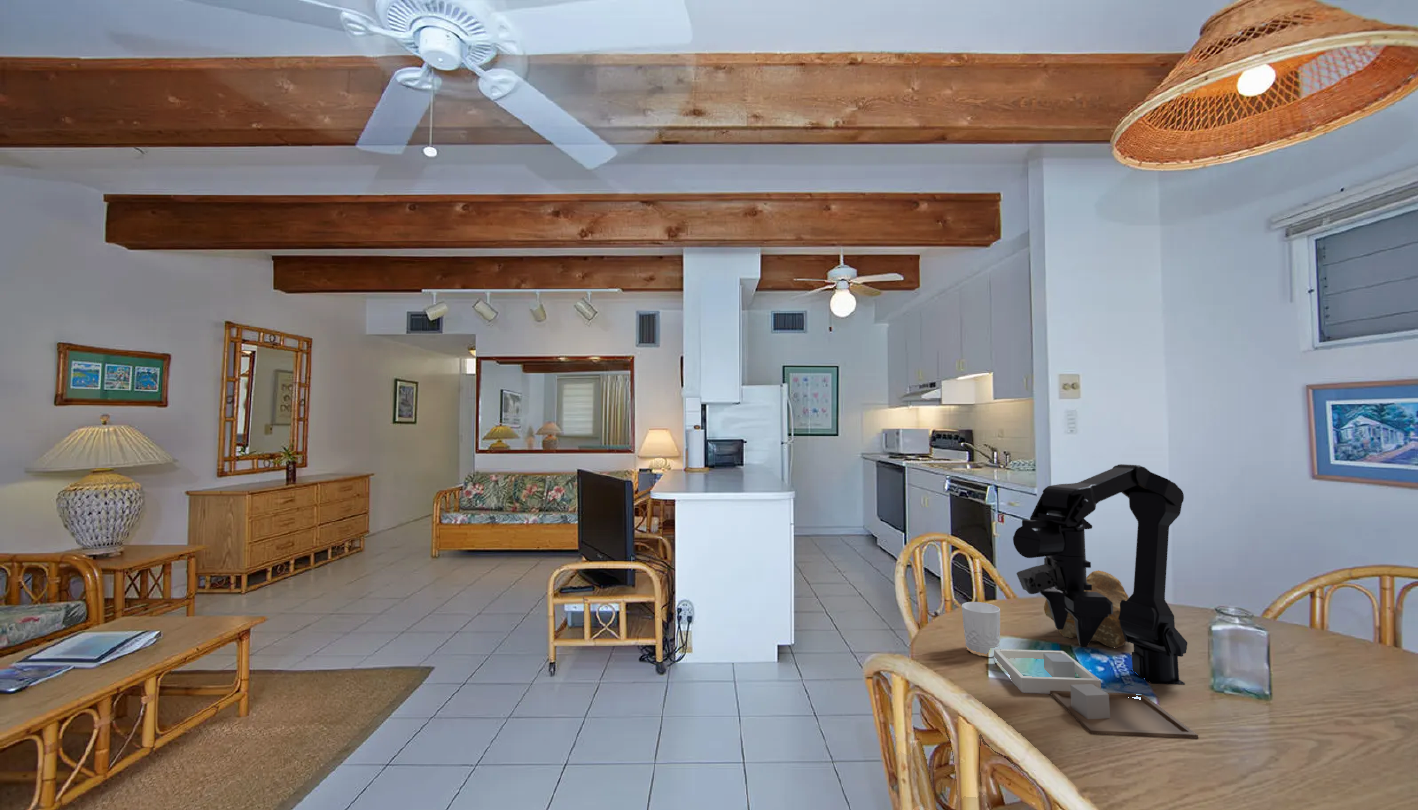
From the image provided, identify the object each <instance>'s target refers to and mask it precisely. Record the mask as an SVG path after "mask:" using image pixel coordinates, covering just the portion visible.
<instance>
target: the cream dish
mask: <svg viewBox="0 0 1418 810" xmlns="http://www.w3.org/2000/svg"><path fill="white" fill-rule="evenodd" d="M1043 653H1050V654H1065V655H1066V656H1068V657H1069V658H1070V659H1071V660H1073V661H1074V663H1075V672H1076V674H1078V676H1079V677H1081V678H1065V677H1032V676H1023V675H1022V674H1021V673H1020V672H1019V671H1018V670H1017V669H1016V668H1015V667H1014V666H1013V665H1012V664H1011V663H1010V662H1009V661H1008V659H1010V658H1014V659H1015V658H1034V659H1044V655H1043ZM994 657H995V658H996V659H997V661H998V662H999V663H1000V664H1001V665H1002V667H1003V668H1004V669H1005V670H1006V671H1007V672H1008V674H1009V675H1010V678H1011V680H1012V681H1011V680H1010V681H1011V682H1012V683H1013V685H1015V687H1016V686H1017V687H1018V688H1017V687H1016V688H1017V689H1018V690H1019V691H1020V692H1021V693H1022V694H1024V693H1025V694H1049V695H1051V694H1050V691H1071V688H1070V685H1080V684H1093V685H1094V686H1096V687H1098V688H1099V689H1101V690H1102V683H1101V682H1102V680H1101V679H1100V678H1098V677H1097V676H1096V675H1095V674H1094V673H1092V672H1090V671H1089V670H1088V669H1087V668H1085V667H1084V666H1083V665H1082V664H1081V663H1079V662H1078V661H1077V660H1075V658H1073V657H1071V656H1070V655H1069V653H1066V651H1064V650H1040V649H1039V650H1038V649H1006V648H1005V649H1004V648H1003V649H1000V648H999V649H994ZM994 657H993V658H994ZM1007 658H1008V659H1007Z"/></svg>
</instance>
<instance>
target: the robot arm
mask: <svg viewBox="0 0 1418 810" xmlns="http://www.w3.org/2000/svg"><path fill="white" fill-rule="evenodd" d="M1119 494H1123V495H1124V496H1125V497H1127V498H1128V504H1129V509H1130V511H1131V513H1132V514H1133V516H1134V518H1135V520H1136V521H1137V531H1136V532H1137V534H1136V535H1137V537H1136V547H1135V561H1134V562H1135V563H1134V565H1135V566H1134V578H1133V579H1134V581H1133V592H1132V594H1131V595H1130V596H1128V597H1129V598H1128V599H1127V600H1126V601H1125V600H1122V601H1121V602H1120V615H1119V618H1118V620H1119V621H1120V627H1121V629H1122V632H1123V635H1124V638H1125V643H1130V644H1133V651H1132V652H1131V663H1132V664H1131V667H1132V668H1131V669H1133V671H1134V672H1136V673H1137V674H1138V675H1139V676H1140V677H1139V676H1138V675H1137V676H1138V677H1139V678H1141V677H1142V678H1145V680H1146V682H1147V683H1149V684H1153V685H1180V686H1183V685H1186V683H1185V682H1184V681H1183V680H1182V679H1180V673H1179V672H1180V670H1179V657H1184V655H1185V654H1187V651H1188V642H1187V640H1186V639H1185V637H1184V636H1182V634H1181V633H1180V632H1179V631H1178V629H1176V627H1175V625H1176V622H1175V615H1174V613H1173V611H1172V610H1171V608H1170V606H1169V604H1168V603H1167V601H1166V584H1167V583H1166V581H1167V580H1166V579H1167V569H1168V567H1167V565H1168V550H1169V549H1168V548H1169V535H1170V526H1171V525H1172V524H1173V523H1174V522H1175V521H1176V520H1177V518H1179V516H1180V515H1181V512H1182V505H1183V502H1184V499H1185V496H1184V494H1185V493H1184V491H1183V490H1182V489H1181V488H1180V487H1179V486H1178V484H1177V483H1175V482H1174V481H1171V479H1168V478H1166V477H1164V476H1161V475H1158V474H1156V473H1153V472H1151V471H1150V470H1149V469H1147V468H1146V467H1145V466H1141V465H1140V464H1121V463H1120V464H1117V465H1114V466H1113V467H1112V468H1110V469H1107V470H1105V471H1103V472H1100V473H1097V474H1096V475H1093V476H1091V477H1089V478H1086V479H1083V480H1081V481H1079V482H1075V483H1074V482H1073V483H1057V484H1052V485H1049V486H1048V485H1047V486H1046V487H1045V488H1044V489H1043V490H1042V493H1041V495H1040V498H1038V501H1037V503H1036V505H1035V507H1034V509H1033V511H1032V512H1031V515H1030V517H1029V519H1022V520H1021V526H1019V527H1018V528H1017V529H1016V530H1015V532H1014V535H1013V536H1012V541H1013V545H1014V548H1015V550H1016V551H1017V553H1018V554H1019V555H1021V556H1022V557H1024V558H1025V559H1033V558H1043V557H1044V558H1043V559H1044V560H1043V562H1044V563H1043V564H1041V565H1035V566H1032V567H1029V568H1026V569H1022V570H1019V571H1018V572H1016V576H1017V578H1018V580H1019V583H1020V585H1021V587H1022V590H1024V591H1026V592H1027V593H1028V594H1030V595H1035V594H1040V595H1042V597H1044V598H1045V601H1046V600H1047V603H1048V605H1049V608H1050V611H1051V614H1052V617H1053V620H1054V621H1053V620H1052V621H1053V623H1054V626H1055V629H1057V630H1058V629H1059V630H1062V629H1063V628H1064V625H1065V622H1066V619H1067V615H1068V612H1069V613H1070V614H1071V615H1072V616H1073V617H1074V621H1075V627H1076V632H1077V637H1076V638H1077V641H1078V645H1079V647H1080V648H1086V649H1087V648H1088V646H1089V645H1090V642H1091V641H1092V640H1091V639H1092V638H1093V636H1094V634H1095V632H1096V631H1097V629H1098V627H1099V626H1100V624H1101V623H1102V621H1103V620H1104V619H1105V617H1108V616H1109V614H1110V615H1111V614H1113V603H1112V602H1111V601H1110V600H1109V599H1108V598H1107V597H1105V596H1103V595H1101V594H1100V593H1098V592H1086V591H1084V590H1092V585H1091V584H1089V583H1087V577H1088V576H1087V569H1091V568H1092V563H1091V561H1088V560H1087V557H1086V535H1085V530H1092V529H1093V525H1092V524H1091V523H1090V522H1089V521H1087V520H1086V519H1085V518H1086V517H1088V516H1089V515H1091V514H1092V513H1093V512H1094V511H1095V510H1096V508H1097V504H1099V503H1100V502H1102V501H1104V500H1107V499H1109V498H1112V497H1113V496H1115V495H1119ZM1059 630H1058V631H1059ZM1142 678H1141V679H1142ZM1145 680H1144V681H1145Z"/></svg>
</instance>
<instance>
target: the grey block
mask: <svg viewBox="0 0 1418 810" xmlns="http://www.w3.org/2000/svg"><path fill="white" fill-rule="evenodd" d="M1043 655H1044V669H1045V670H1046V671H1047V672H1048V673H1049V674H1050V675H1051V676H1052V677H1065V678H1075V663H1074V661H1073V660H1071V659H1070V658H1069V657H1068V656H1066V655H1065V654H1050V653H1043Z"/></svg>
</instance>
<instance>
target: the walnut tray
mask: <svg viewBox="0 0 1418 810" xmlns="http://www.w3.org/2000/svg"><path fill="white" fill-rule="evenodd" d="M1106 693H1107V694H1109V707H1110V718H1103V719H1087V718H1085V717H1084V716H1083V715H1081V714H1080V713H1078V712H1077V711H1075V710H1074V709H1073V708H1072V706H1071V691H1050V694H1049V695H1051V696H1052V697H1053V698H1054V699H1055V700H1056V701H1057V702H1058V703H1059V704H1060V705H1061V706H1062V707H1063V708H1064V709H1065V710H1066V711H1067V712H1068V713H1069V714H1070V715H1071V716H1072V717H1073V718H1074V719H1075V720H1076V721H1077V722H1078V723H1079V724H1080V725H1082V727H1084V729H1086V730H1087V731H1088V732H1089V734H1091V735H1109V736H1110V735H1111V736H1112V735H1114V736H1132V737H1133V736H1136V737H1154V738H1155V737H1156V738H1157V737H1160V738H1185V739H1199V734H1198V733H1196V732H1195V731H1194V730H1192V729H1191V728H1190V727H1188V726H1187V725H1185V724H1184V723H1182V722H1181V721H1180V720H1179V719H1177V718H1176V717H1175V716H1173V715H1171V714H1170V713H1169V712H1168V711H1167V710H1165V709H1163V707H1161V706H1159V705H1158V704H1157V703H1156V702H1154V701H1152V700H1151V698H1149V697H1148V696H1146V695H1145V694H1143V693H1141V694H1142V695H1136V694H1137V693H1131V692H1130V693H1128V692H1127V693H1126V692H1106ZM1136 696H1138V697H1141V700H1139V699H1134V698H1132V697H1136ZM1128 697H1129V698H1128Z"/></svg>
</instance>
